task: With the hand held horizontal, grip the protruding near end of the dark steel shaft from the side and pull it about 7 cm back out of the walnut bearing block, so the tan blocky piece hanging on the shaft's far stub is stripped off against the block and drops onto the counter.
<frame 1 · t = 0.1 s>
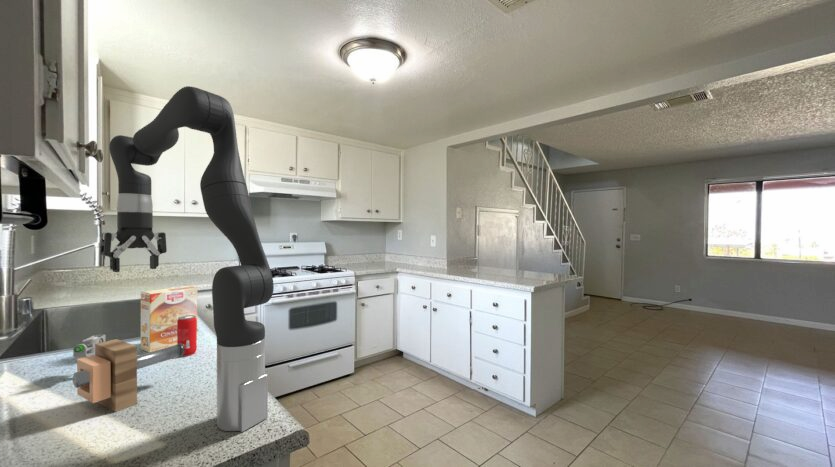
hand: (135, 270, 95), 29 cm above the worktop, tool pointing down, fingers open, 8 cm apart
beverage can: (187, 354, 112), on the worktop
bearing block: (116, 402, 81), on the worktop
shaft: (134, 363, 84), point 8 cm above the worktop, slide at 0.0 cm, touching tan blocky piece
mechanical component: (90, 376, 95), on the worktop
tan blocky piece: (93, 395, 77), point 3 cm above the worktop, touching shaft
coffeecake box: (170, 345, 120), on the worktop
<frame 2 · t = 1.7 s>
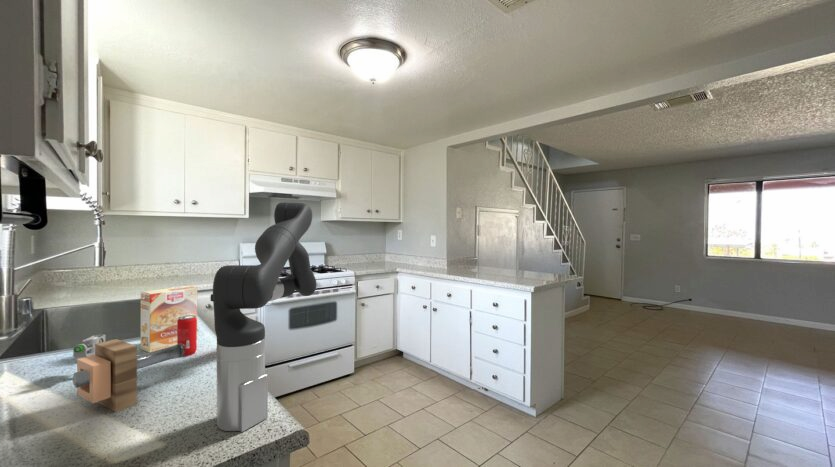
hand: (219, 299, 103), 20 cm above the worktop, tool horizontal, fingers open, 8 cm apart
nothing on the worktop moved.
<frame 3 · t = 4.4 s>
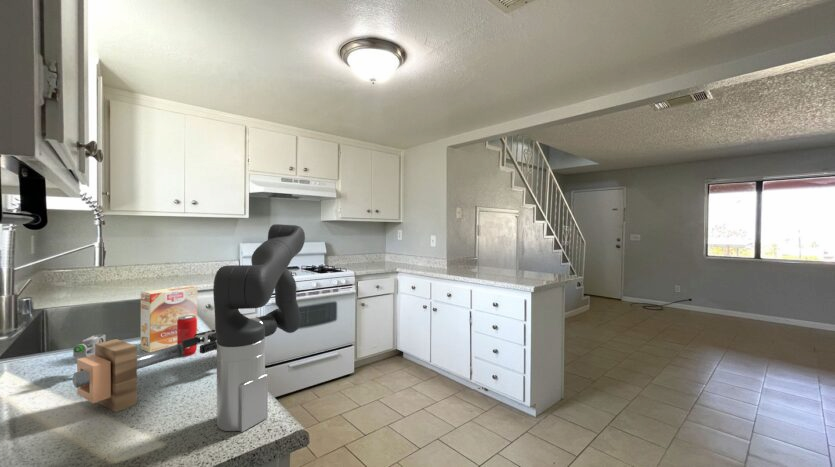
hand: (191, 347, 96), 8 cm above the worktop, tool horizontal, fingers open, 8 cm apart
nothing on the worktop moved.
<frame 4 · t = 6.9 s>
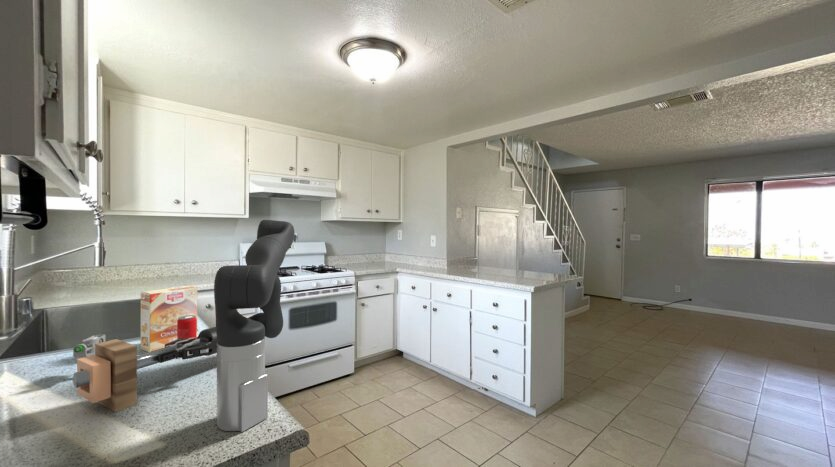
hand: (154, 357, 88), 8 cm above the worktop, tool horizontal, fingers closed on shaft, 3 cm apart
shaft: (134, 363, 84), point 8 cm above the worktop, slide at 0.0 cm, touching gripper, tan blocky piece
everything else where it was.
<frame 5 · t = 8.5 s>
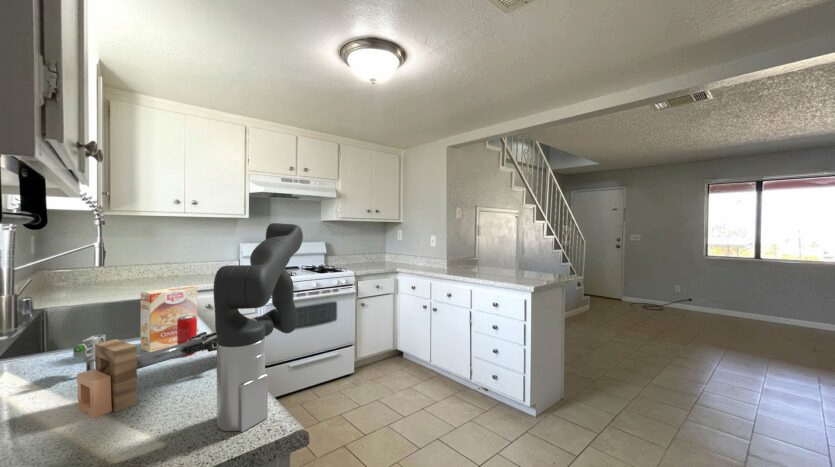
hand: (182, 349, 94), 8 cm above the worktop, tool horizontal, fingers closed on shaft, 3 cm apart
shaft: (164, 354, 90), point 8 cm above the worktop, slide at 6.6 cm, touching gripper
tan blocky piece: (95, 410, 77), on the worktop
everything else where it was.
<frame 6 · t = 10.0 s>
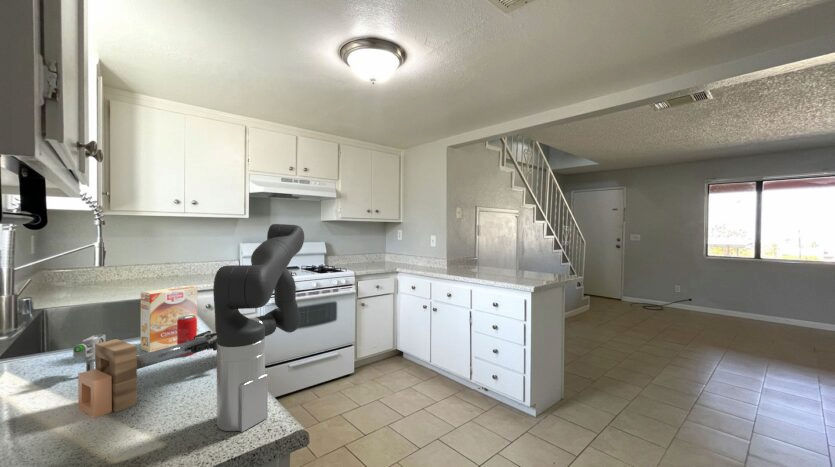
hand: (187, 348, 95), 8 cm above the worktop, tool horizontal, fingers open, 4 cm apart
shaft: (169, 353, 91), point 8 cm above the worktop, slide at 7.8 cm
everything else where it was.
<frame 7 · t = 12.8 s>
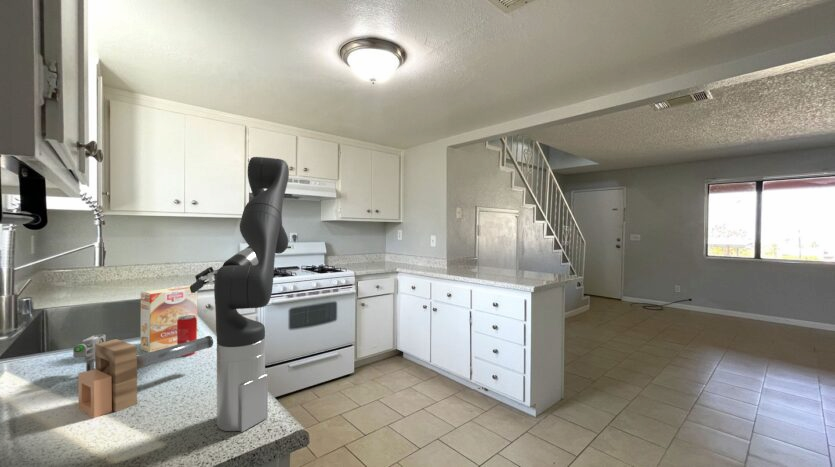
hand: (204, 292, 97), 23 cm above the worktop, tool tilted 65°, fingers open, 8 cm apart
nothing on the worktop moved.
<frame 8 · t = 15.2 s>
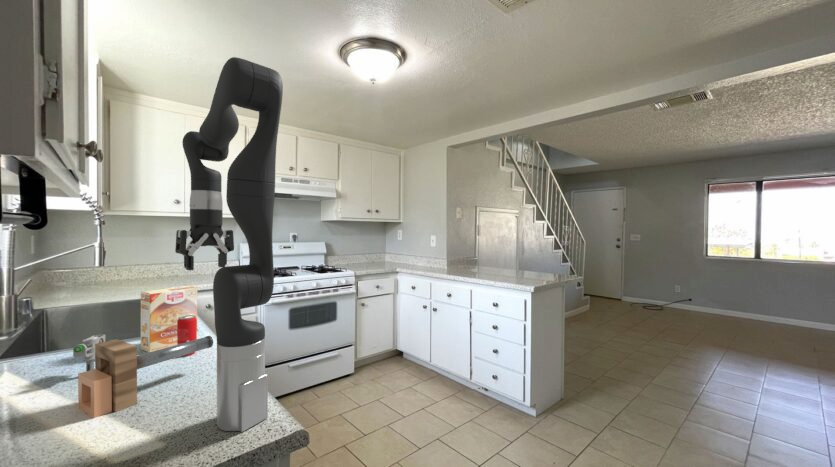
hand: (206, 268, 93), 30 cm above the worktop, tool pointing down, fingers open, 8 cm apart
nothing on the worktop moved.
at the end: shaft slide at 7.8 cm; tan blocky piece on the worktop; tan blocky piece touching worktop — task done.
